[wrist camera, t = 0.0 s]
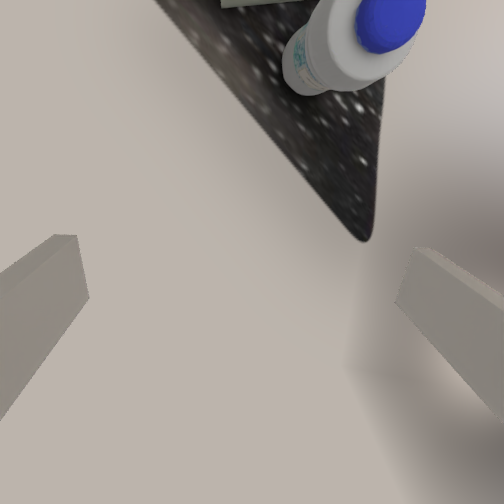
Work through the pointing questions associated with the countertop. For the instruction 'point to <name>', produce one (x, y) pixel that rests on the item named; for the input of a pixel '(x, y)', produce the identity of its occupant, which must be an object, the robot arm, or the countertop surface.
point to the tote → (249, 2)
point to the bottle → (350, 44)
